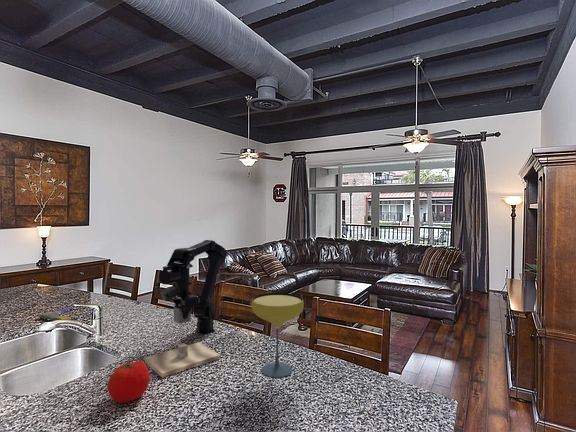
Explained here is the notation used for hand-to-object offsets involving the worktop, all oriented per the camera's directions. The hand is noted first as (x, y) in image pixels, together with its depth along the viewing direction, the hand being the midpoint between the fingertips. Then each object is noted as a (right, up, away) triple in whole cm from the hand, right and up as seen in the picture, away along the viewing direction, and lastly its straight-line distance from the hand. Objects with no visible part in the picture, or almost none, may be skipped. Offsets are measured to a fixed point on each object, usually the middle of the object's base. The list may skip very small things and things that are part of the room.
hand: (182, 317), depth 144 cm
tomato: (-3, -12, -40) cm, 42 cm away
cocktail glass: (+40, -12, -22) cm, 47 cm away
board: (+5, -12, -15) cm, 19 cm away
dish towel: (-69, -10, +37) cm, 79 cm away
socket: (0, -2, 0) cm, 2 cm away
